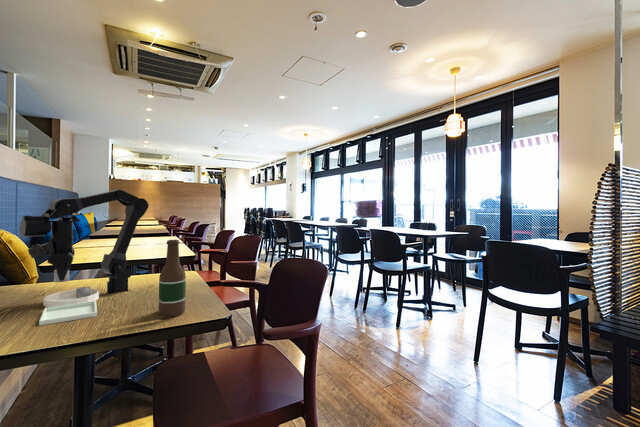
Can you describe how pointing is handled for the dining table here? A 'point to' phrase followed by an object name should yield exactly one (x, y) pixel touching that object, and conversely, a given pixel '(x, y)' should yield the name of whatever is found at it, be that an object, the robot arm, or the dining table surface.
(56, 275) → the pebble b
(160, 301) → the beer bottle
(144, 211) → the robot arm
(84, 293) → the grey rounded cylinder
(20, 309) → the dining table surface
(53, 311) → the tray
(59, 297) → the bowl
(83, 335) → the dining table surface
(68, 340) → the dining table surface
